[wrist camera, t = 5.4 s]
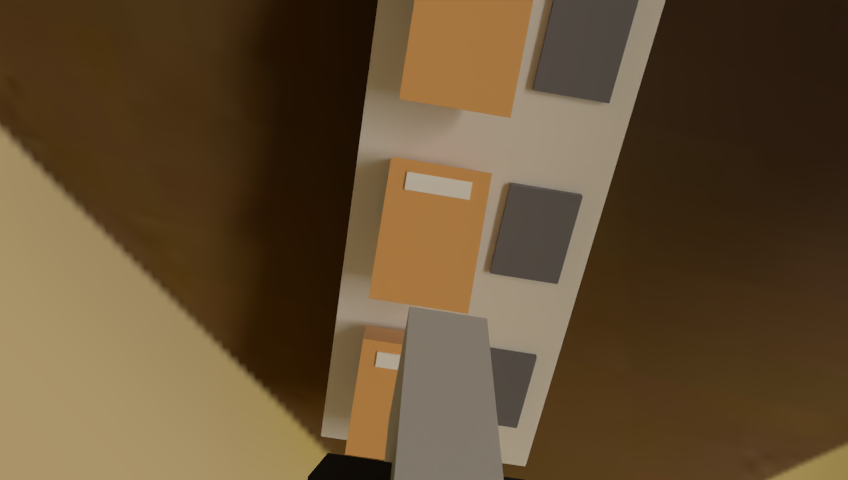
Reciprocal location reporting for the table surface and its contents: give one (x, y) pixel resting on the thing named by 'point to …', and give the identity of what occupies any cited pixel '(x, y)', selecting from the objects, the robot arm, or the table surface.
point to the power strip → (501, 192)
